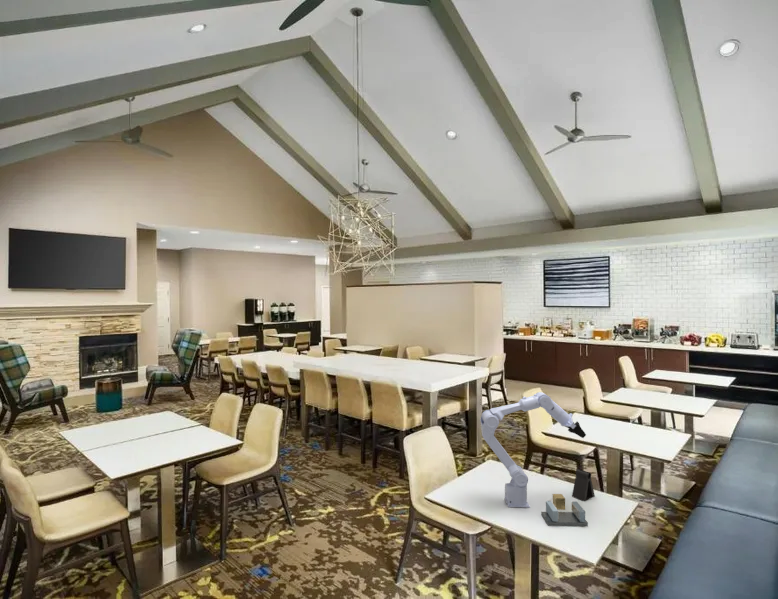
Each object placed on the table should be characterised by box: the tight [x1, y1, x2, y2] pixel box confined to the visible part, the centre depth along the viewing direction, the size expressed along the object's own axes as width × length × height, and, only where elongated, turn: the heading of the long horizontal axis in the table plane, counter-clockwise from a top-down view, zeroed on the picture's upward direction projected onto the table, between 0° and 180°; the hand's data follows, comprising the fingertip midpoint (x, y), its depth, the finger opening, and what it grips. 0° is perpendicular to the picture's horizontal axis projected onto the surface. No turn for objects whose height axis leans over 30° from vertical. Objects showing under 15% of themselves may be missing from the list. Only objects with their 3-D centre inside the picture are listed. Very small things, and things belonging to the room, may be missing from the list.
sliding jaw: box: [545, 500, 560, 522], centre depth 189 cm, size 2×9×4 cm, turn 178°
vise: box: [540, 501, 589, 527], centre depth 189 cm, size 16×9×6 cm, turn 88°
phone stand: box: [571, 468, 596, 502], centre depth 211 cm, size 9×6×12 cm, turn 125°
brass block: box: [552, 493, 566, 511], centre depth 201 cm, size 4×4×5 cm
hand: (580, 433), depth 203 cm, fingers open, 7 cm apart
